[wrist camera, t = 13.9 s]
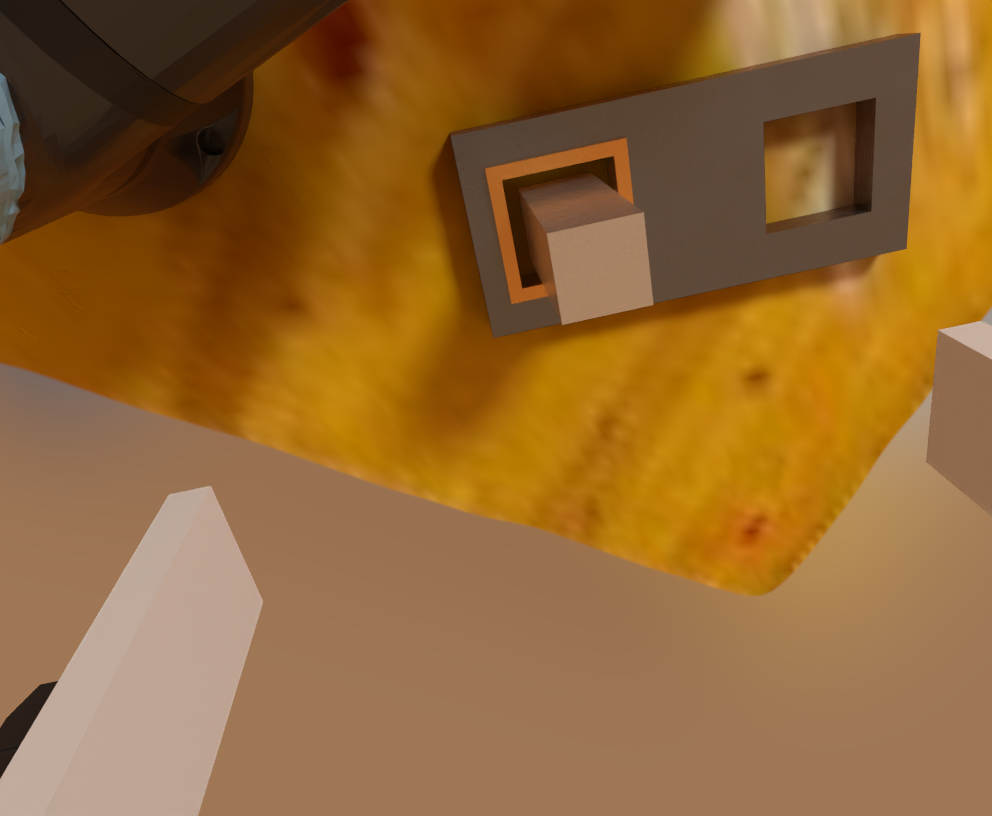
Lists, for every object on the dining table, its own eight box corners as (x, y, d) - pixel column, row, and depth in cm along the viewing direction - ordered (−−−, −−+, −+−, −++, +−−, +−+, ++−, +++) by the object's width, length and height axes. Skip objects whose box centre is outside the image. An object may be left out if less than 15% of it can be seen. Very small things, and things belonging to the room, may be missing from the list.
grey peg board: (491, 326, 46) (493, 339, 44) (449, 132, 41) (450, 137, 39) (887, 241, 46) (909, 249, 44) (899, 34, 41) (923, 32, 38)
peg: (530, 259, 45) (562, 325, 34) (517, 188, 43) (546, 233, 32) (600, 244, 45) (653, 304, 34) (590, 172, 43) (643, 212, 32)
